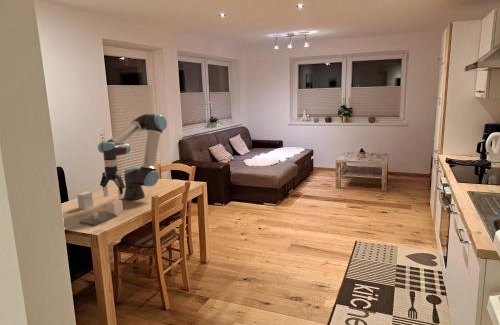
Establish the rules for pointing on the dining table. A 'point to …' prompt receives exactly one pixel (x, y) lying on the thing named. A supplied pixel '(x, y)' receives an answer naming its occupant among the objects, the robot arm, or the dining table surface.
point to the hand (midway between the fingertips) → (113, 197)
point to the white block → (114, 206)
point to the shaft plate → (102, 219)
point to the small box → (85, 200)
